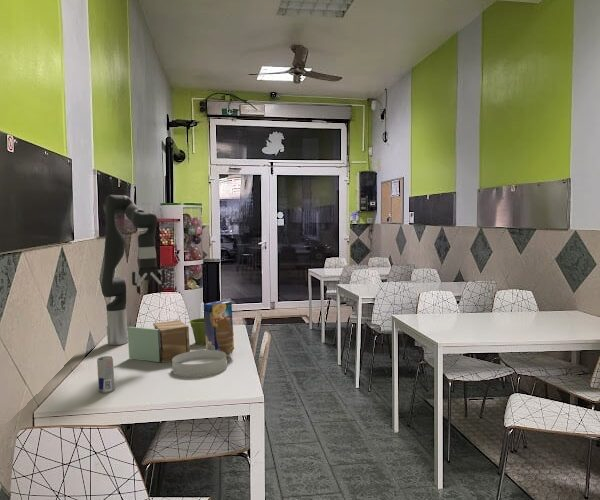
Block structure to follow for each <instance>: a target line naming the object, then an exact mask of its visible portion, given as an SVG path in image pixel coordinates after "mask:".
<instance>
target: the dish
mask: <svg viewBox="0 0 600 500" xmlns="http://www.w3.org/2000/svg"><path fill="white" fill-rule="evenodd" d="M171 362H172V363H171V364H172V365H171V369H172V373H173V374H174V375H175V376H180V377H189V378H190V377H193V378H194V377H203V376H210V375H214V374H218V373H221V372H222V371H224V370H226V369H227V368H228V360H227V356H226V353H225V352H222V351H218V350H206V349H202V350H190V352H186V353H182V354H179V355H177V356H175V357H173V359H172V361H171Z"/></svg>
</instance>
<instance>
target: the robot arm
mask: <svg viewBox="0 0 600 500" xmlns="http://www.w3.org/2000/svg"><path fill="white" fill-rule="evenodd" d="M115 215H125V217H126V218H127V219H128V220H129V221H131V222H132V225H133V227H135V228H136V229H147V231H146V232H143V233H140V234H139V235H137V243H138V244H137V246H138V251H137V253H138V256H137V257H138V271H134V270H133V271H132V272H131V279H132V280H131V284H132V286H135V287H136V294H138V295H139V296H140V295H141V284H142V282H144V281H153V280H155V281H156V283H157V284H158V285H157V287H158V293H159V294H161V292H163V288H162V287H163V284H165V283H166V281H167V280H166V273H165V272H166V271H165V269H163V268H161V269H158V263H157V252H156V244H155V243H156V242H155V237H156V236H155V235H156V230H157V225H158V217H157V215H156V213H155V212H154V211H153V212H152V211H145V210H143V209H142V208H140V207H139V206H137V205H136V204H135V203H134V202H133V200H132V199H131V198H130V197H129V196H127V195H123V194H109V195H107V197H106V199H105V226H106V227H105V240H104V259H103V261H104V263H103V270H102V271H103V272H102V279H101V293H102V295H103V297H105V298H113V297H114V299H113V300H112V301H111V302H108V303H107V304H106V318H107V319H106V322H107V323H106V324H107V326H106V334H107V335H106V336H107V337H106V338H107V346H120V345H125V344H127V343H128V330H127V327H128V320H127V284H126V281H125V279H124V278H123V277H114V273H115V270H116V268H117V267H118V265H119V263H120V262H121V261H122V259H123V257H124V256H125V255H124V254H125V246H126V242H125V238H124V236H123V234H122V232H121V231H120V230H119V228H118V225H117V223H116V220H115ZM158 274H160V275H161V279H162V280H160V279H159V277H157V275H158ZM138 275H139V276H140V277H139V280H138V281H137V282H136V277H137V276H138Z"/></svg>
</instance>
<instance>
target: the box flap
mask: <svg viewBox="0 0 600 500" xmlns="http://www.w3.org/2000/svg"><path fill="white" fill-rule="evenodd" d="M127 333H128V342H127V343H128V359H133V360H134V359H135V360H141V361H147V362H156V363H157V362H158V363H163V362H162V353H161V336H160V329H155V328H147V327H136V326H127Z"/></svg>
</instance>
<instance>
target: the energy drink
mask: <svg viewBox="0 0 600 500" xmlns="http://www.w3.org/2000/svg"><path fill="white" fill-rule="evenodd" d="M96 362H97V363H96V364H97V366H96V367H97V368H96V369H97V378H98V380H97V382H98V392H99V393H100V394H108V393H112V392H113V390H115V389H116V388H115V387H116V386H115V385H116V384H115V371H114V359H113V356H111V355H106V356H105V355H103V356H100V357H98V358H97V359H96ZM111 391H112V392H111ZM107 392H108V393H107Z"/></svg>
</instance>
